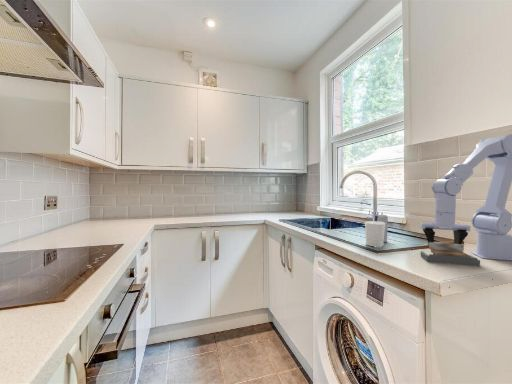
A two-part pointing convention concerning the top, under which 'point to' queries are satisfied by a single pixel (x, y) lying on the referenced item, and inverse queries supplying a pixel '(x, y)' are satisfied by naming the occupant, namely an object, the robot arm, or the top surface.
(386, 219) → the energy drink
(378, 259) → the top surface
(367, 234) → the white cup
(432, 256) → the dock
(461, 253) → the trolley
